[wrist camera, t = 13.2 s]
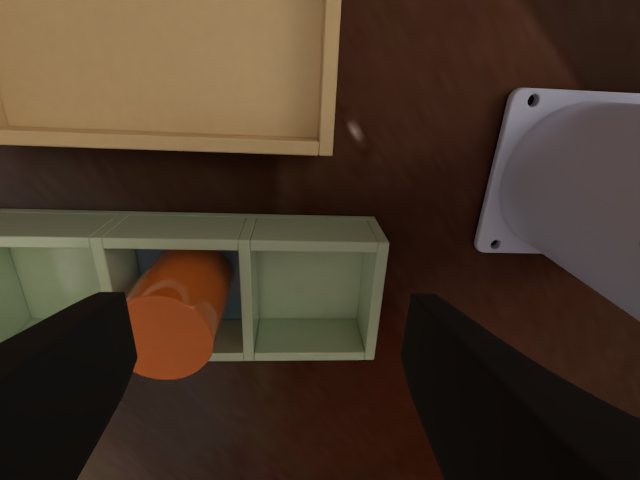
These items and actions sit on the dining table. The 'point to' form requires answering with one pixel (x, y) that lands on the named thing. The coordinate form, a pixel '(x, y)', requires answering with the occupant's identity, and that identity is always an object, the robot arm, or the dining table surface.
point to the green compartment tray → (243, 256)
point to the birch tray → (170, 74)
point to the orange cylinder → (179, 311)
